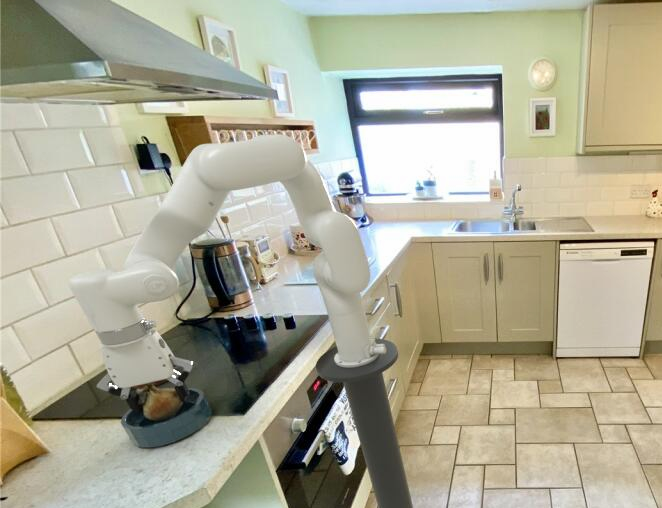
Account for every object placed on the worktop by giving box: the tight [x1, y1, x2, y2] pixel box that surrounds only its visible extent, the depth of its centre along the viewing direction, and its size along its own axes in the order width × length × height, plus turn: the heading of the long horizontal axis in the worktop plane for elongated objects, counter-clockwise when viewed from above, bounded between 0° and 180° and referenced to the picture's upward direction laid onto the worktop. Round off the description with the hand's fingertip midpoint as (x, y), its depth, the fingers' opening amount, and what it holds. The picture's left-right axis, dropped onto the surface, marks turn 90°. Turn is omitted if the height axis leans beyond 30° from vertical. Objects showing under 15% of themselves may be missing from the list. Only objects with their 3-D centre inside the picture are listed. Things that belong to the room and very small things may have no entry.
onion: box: [135, 384, 183, 421], centre depth 90 cm, size 8×8×8 cm
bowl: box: [120, 387, 213, 448], centre depth 92 cm, size 15×15×6 cm
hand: (163, 404), depth 91 cm, fingers closed on onion, 7 cm apart
